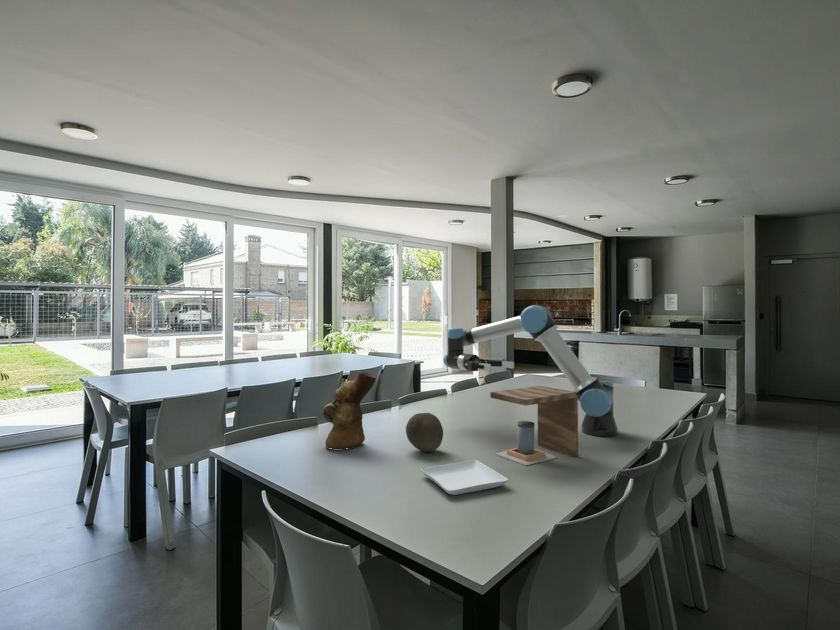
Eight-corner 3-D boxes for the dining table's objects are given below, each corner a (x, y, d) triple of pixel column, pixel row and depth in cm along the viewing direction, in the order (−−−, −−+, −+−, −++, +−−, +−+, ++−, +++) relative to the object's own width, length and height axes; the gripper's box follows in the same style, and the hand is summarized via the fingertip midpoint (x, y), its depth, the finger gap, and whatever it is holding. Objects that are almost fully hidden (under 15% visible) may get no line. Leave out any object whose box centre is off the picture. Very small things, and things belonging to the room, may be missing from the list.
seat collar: (525, 447, 186) (525, 442, 186) (557, 457, 173) (557, 452, 173) (495, 454, 177) (495, 449, 177) (526, 466, 164) (526, 460, 164)
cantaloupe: (435, 445, 190) (435, 408, 190) (448, 455, 177) (448, 415, 177) (402, 448, 186) (401, 410, 186) (412, 459, 172) (412, 418, 172)
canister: (525, 451, 179) (525, 420, 179) (537, 455, 174) (537, 423, 174) (513, 454, 176) (513, 422, 176) (525, 458, 171) (525, 425, 170)
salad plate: (448, 501, 135) (448, 489, 135) (419, 477, 154) (419, 467, 154) (510, 490, 143) (510, 478, 143) (475, 468, 162) (475, 459, 162)
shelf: (541, 444, 189) (540, 385, 189) (578, 456, 174) (577, 391, 174) (490, 456, 175) (490, 392, 175) (526, 470, 160) (525, 399, 159)
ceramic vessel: (324, 440, 198) (324, 369, 198) (376, 438, 200) (376, 368, 200) (321, 451, 182) (320, 374, 182) (377, 449, 185) (376, 373, 185)
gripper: (489, 368, 222) (522, 372, 205) (447, 372, 208) (480, 377, 191) (489, 352, 222) (522, 355, 205) (447, 355, 208) (479, 359, 191)
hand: (502, 366), depth 198 cm, fingers open, 13 cm apart
